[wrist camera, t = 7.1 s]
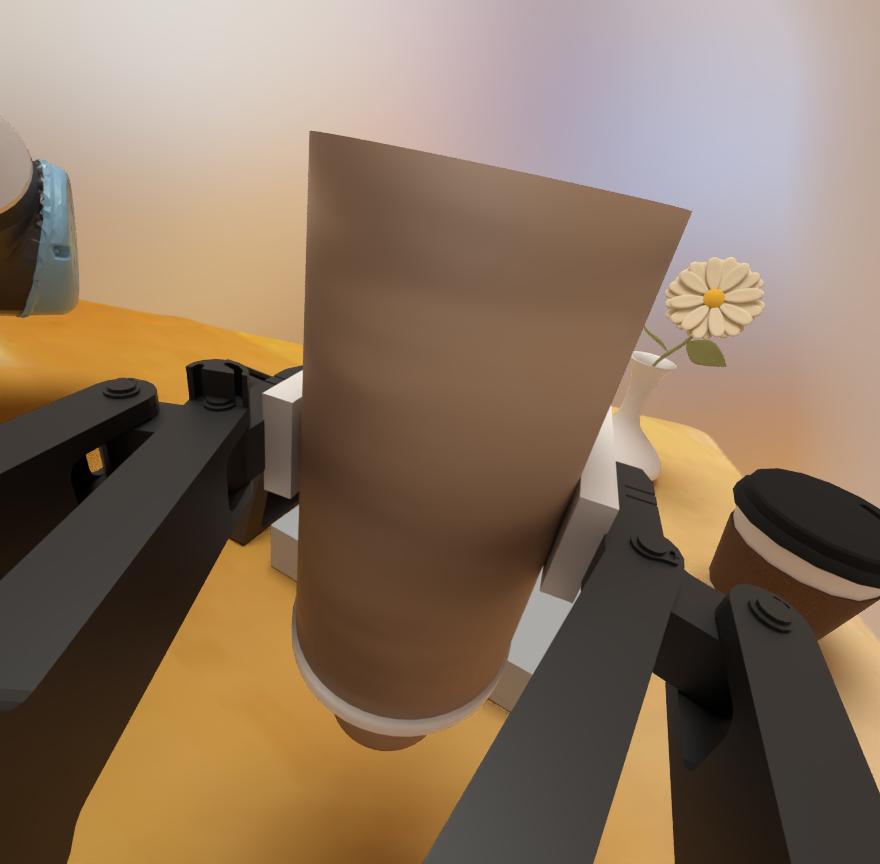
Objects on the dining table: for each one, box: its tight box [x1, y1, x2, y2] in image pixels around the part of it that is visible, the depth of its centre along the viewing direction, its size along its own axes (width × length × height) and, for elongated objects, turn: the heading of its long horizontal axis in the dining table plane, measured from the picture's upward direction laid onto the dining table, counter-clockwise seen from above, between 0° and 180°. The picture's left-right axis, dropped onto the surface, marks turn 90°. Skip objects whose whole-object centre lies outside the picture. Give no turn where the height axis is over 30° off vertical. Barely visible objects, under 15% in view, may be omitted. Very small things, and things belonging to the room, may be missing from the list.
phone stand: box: [227, 359, 299, 545], centre depth 36 cm, size 9×6×12 cm, turn 155°
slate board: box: [271, 505, 581, 712], centre depth 37 cm, size 22×22×4 cm
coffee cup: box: [706, 468, 880, 641], centre depth 33 cm, size 11×11×12 cm
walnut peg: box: [292, 131, 692, 751], centre depth 12 cm, size 7×7×16 cm
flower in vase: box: [612, 257, 765, 481], centre depth 48 cm, size 13×11×25 cm
